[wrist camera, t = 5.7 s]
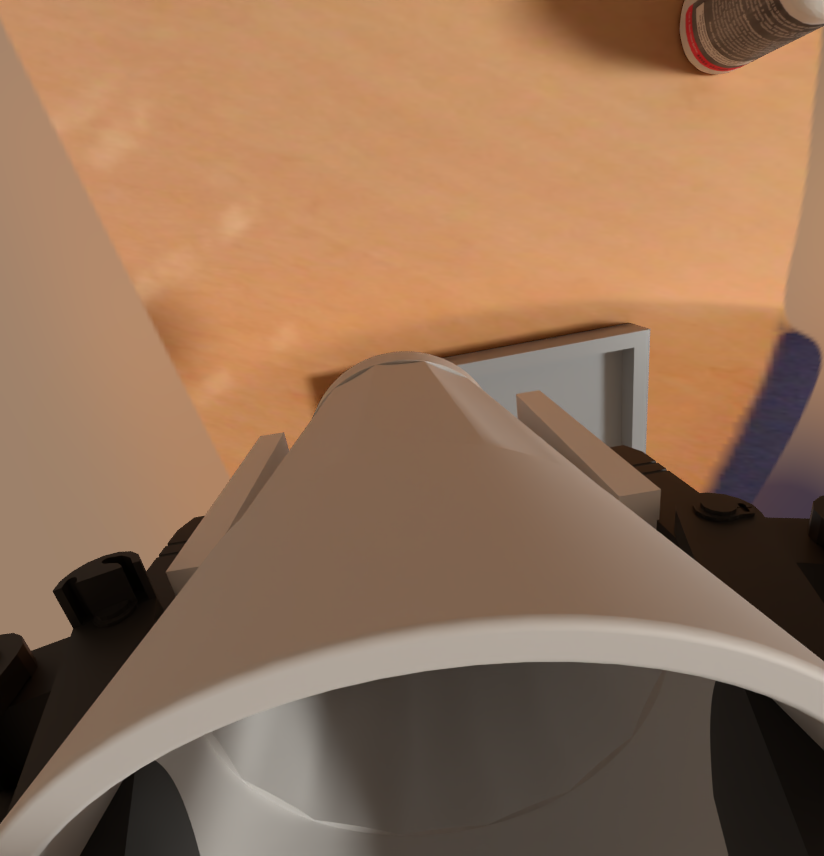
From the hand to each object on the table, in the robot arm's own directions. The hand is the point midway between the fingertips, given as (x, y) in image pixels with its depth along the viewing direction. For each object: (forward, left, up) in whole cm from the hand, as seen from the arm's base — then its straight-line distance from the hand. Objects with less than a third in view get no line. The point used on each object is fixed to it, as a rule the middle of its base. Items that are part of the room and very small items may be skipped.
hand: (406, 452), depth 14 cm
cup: (0, 0, -1) cm, 1 cm away
